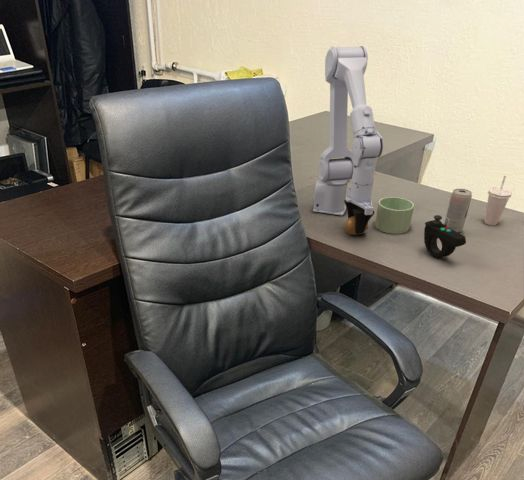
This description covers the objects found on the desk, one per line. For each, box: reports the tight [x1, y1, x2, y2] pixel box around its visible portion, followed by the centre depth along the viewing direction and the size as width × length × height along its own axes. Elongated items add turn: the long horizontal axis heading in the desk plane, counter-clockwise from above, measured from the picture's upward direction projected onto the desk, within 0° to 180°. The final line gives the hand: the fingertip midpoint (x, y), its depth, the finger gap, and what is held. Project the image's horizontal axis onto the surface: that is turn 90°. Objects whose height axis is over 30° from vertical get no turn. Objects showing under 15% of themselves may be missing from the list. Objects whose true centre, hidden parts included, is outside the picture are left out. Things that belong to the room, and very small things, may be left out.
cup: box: [374, 196, 415, 235], centre depth 152 cm, size 10×10×7 cm
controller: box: [423, 214, 467, 259], centre depth 137 cm, size 4×12×10 cm, turn 30°
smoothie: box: [484, 175, 513, 226], centre depth 153 cm, size 6×6×14 cm
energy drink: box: [443, 188, 473, 235], centre depth 148 cm, size 5×5×12 cm
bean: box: [343, 216, 369, 236], centre depth 148 cm, size 7×5×5 cm
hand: (355, 228), depth 149 cm, fingers closed on bean, 5 cm apart
